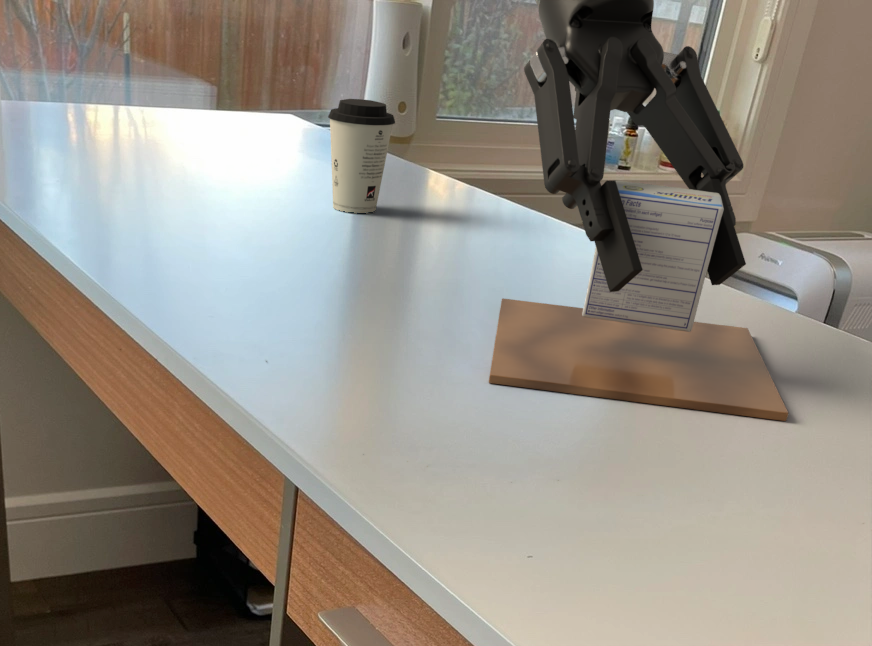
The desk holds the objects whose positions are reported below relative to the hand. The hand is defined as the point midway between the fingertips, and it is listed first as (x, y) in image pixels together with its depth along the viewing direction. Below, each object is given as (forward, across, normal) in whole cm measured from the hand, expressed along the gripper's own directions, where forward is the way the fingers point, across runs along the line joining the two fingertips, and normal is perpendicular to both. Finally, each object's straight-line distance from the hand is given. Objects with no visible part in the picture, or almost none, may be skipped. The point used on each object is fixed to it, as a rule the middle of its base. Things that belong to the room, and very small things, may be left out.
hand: (678, 277), depth 77 cm
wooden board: (+2, 0, -7) cm, 7 cm away
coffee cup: (-32, -2, -42) cm, 53 cm away
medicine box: (0, 0, -5) cm, 5 cm away
